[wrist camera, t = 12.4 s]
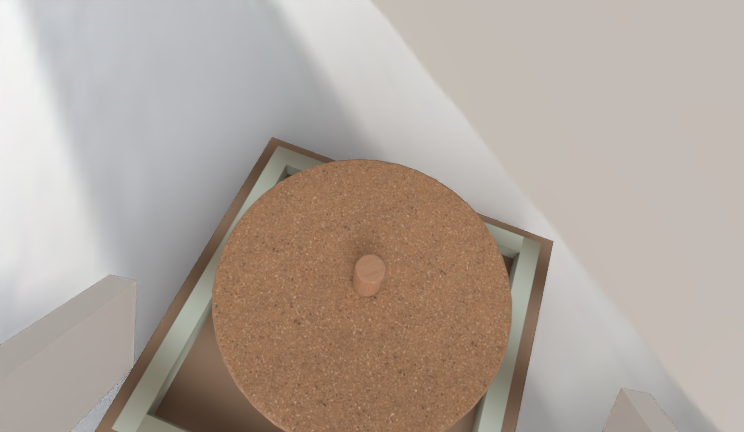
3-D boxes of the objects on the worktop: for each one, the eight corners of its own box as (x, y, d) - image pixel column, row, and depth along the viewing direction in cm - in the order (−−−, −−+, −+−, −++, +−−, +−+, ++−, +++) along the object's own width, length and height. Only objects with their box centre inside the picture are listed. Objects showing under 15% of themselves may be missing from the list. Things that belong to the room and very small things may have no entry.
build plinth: (453, 588, 22) (485, 627, 17) (124, 442, 23) (75, 444, 19) (526, 264, 30) (561, 234, 25) (278, 171, 31) (270, 127, 27)
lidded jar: (223, 269, 24) (166, 178, 15) (407, 209, 26) (445, 103, 18) (283, 489, 19) (251, 531, 11) (494, 392, 22) (597, 367, 14)
